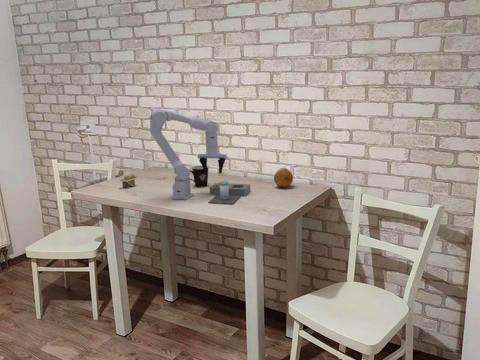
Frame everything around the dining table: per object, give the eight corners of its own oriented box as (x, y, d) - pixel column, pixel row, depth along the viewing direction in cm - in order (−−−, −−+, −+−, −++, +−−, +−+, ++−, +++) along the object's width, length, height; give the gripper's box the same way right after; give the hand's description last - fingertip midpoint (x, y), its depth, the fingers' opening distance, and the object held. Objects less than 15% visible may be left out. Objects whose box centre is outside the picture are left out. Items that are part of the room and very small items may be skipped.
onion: (270, 186, 237) (270, 167, 235) (287, 183, 241) (287, 165, 238) (278, 190, 229) (278, 171, 226) (296, 188, 232) (296, 168, 230)
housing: (245, 196, 220) (245, 189, 219) (209, 194, 225) (208, 187, 224) (250, 190, 229) (250, 184, 228) (215, 189, 234) (215, 182, 233)
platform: (150, 185, 248) (149, 173, 246) (123, 193, 234) (122, 180, 233) (136, 182, 255) (135, 171, 254) (109, 190, 242) (108, 178, 240)
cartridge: (227, 200, 212) (226, 183, 210) (219, 199, 213) (218, 183, 211) (229, 198, 216) (229, 181, 214) (221, 197, 217) (221, 181, 215)
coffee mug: (210, 183, 246) (209, 165, 244) (207, 187, 238) (207, 169, 236) (189, 183, 248) (188, 165, 245) (186, 187, 239) (184, 169, 237)
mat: (233, 204, 207) (233, 203, 207) (208, 203, 211) (208, 202, 210) (240, 197, 219) (240, 196, 218) (216, 196, 222) (216, 195, 222)
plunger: (222, 192, 226) (222, 184, 225) (215, 191, 227) (215, 184, 226) (224, 190, 229) (224, 182, 228) (218, 190, 230) (217, 182, 229)
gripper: (228, 144, 223) (229, 171, 227) (200, 144, 227) (202, 170, 230) (224, 146, 217) (225, 174, 220) (195, 146, 221) (197, 173, 224)
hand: (213, 172), depth 225 cm, fingers open, 7 cm apart
